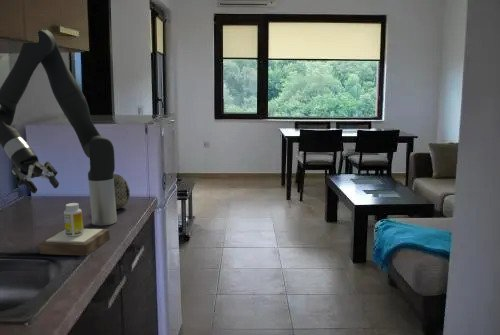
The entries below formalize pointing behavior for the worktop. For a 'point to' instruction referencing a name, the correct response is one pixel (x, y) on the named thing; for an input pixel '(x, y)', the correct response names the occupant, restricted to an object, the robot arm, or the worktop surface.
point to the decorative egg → (121, 191)
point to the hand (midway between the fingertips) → (46, 189)
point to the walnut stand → (74, 242)
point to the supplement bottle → (73, 220)
